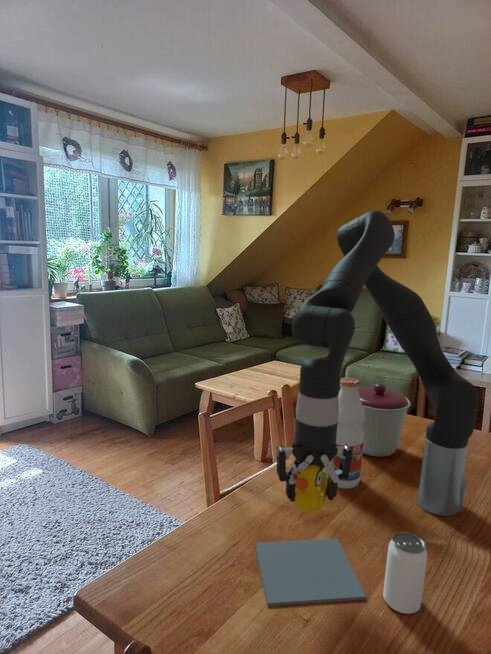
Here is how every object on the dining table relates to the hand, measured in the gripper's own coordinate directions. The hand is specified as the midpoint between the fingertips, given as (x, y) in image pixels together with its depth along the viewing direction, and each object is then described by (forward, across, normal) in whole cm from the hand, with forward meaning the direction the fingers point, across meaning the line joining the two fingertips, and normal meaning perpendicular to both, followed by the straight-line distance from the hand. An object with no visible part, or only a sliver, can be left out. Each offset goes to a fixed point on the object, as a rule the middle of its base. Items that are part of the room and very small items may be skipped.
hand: (310, 498), depth 86 cm
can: (+16, +15, -9) cm, 24 cm away
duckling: (+3, 0, 0) cm, 3 cm away
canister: (+16, +34, +49) cm, 61 cm away
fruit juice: (+16, +18, +32) cm, 40 cm away
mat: (+15, 0, 0) cm, 15 cm away
